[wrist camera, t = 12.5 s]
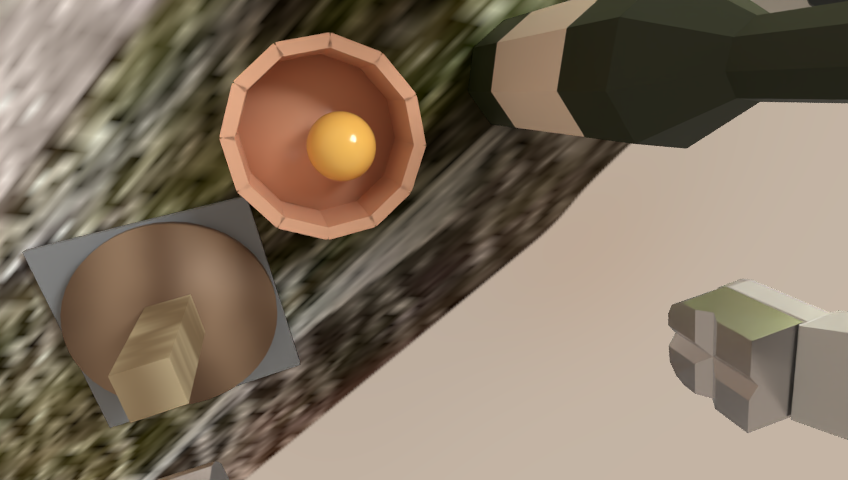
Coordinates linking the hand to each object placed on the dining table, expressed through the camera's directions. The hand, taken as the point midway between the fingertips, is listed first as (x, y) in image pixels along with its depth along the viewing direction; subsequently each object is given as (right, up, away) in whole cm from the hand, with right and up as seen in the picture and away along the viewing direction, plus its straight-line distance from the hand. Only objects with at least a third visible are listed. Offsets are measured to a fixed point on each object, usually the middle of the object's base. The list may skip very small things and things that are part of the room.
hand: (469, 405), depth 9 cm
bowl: (-8, +10, +27) cm, 30 cm away
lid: (-18, -2, +27) cm, 33 cm away
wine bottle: (+6, +16, +31) cm, 35 cm away
